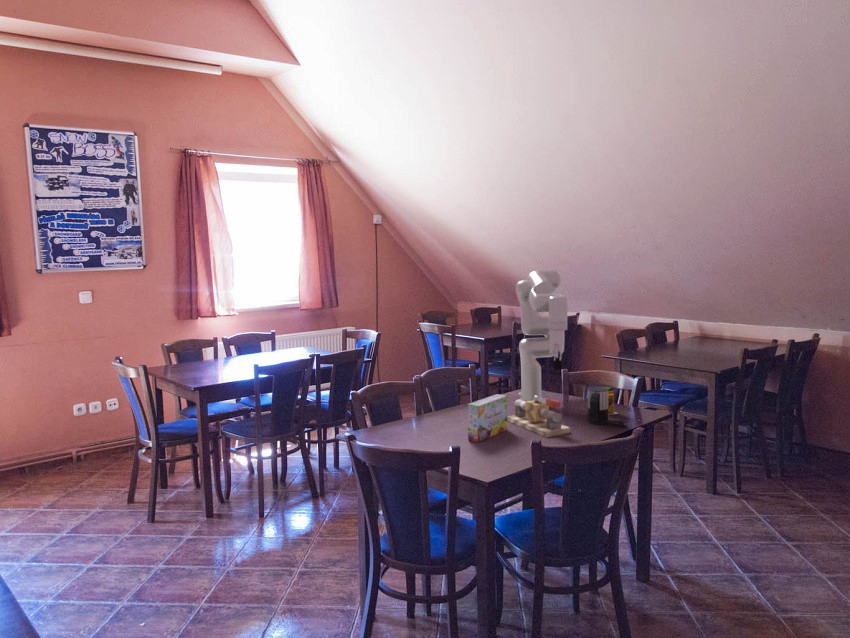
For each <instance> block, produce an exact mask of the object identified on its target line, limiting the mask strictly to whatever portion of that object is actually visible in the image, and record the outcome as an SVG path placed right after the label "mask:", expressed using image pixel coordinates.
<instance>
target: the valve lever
mask: <svg viewBox="0 0 850 638" xmlns="http://www.w3.org/2000/svg"><path fill="white" fill-rule="evenodd" d="M534 402H540V403H543V404H546V406H549V408H554V409H556V410H557V409H561V408H562V402H561V401H560V400H557V399H553V398H546V397H542V396H541V397H540V396H539V395H535V396H534Z"/></svg>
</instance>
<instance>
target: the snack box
mask: <svg viewBox="0 0 850 638" xmlns="http://www.w3.org/2000/svg"><path fill="white" fill-rule="evenodd" d="M467 404H468V405H467V441H470V440H471V441H470V442H475V443H479V442H482V441H484V440H486V439H489V438H491V436H492V437H494V436H496V435H499V434H500V433H503V432H505V430H506V431H507V430H508V421H507V416H508V395H505V394H498V393H497V394H494V395H490V396H488V397H485V398H482V399H479V400H477V401H474V402H471V403H467ZM498 433H499V434H498ZM493 435H494V436H493Z"/></svg>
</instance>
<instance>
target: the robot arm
mask: <svg viewBox="0 0 850 638" xmlns="http://www.w3.org/2000/svg"><path fill="white" fill-rule="evenodd" d="M560 285H561V275H560V274H559V272H558V271H557V270H554V269H543V270H538V269H537V270H533V271H532V272H530V273H529V274H528V275H527V279H524V280H520V281H518V282H517V283H516V286H515V293H516V297H517V300H518V303H519V307H520V322H521V323H520V328H521V332H522V334H523V335H526V336H544V337H527V338H523V339H521V340H520V341H519V343H518V344H519V345H518V350H519V351H518V352H519V357H520V376H521V378H520V379H521V380H520V382H521V383H520V384H521V385H520V386H521V387H520V388H521V391H519V392H518V396H520V398H519V400H522V401H525V402H527V401H533V400H534V396H535V395H539V396H540V397H542V366H541V364H540V363H539V361H537V359H539V358H552V357H553V371H562V370H563V360H562V359H563V357H562V356H563V354H564V352H565V334H566V333H565V331H567V330H568V298H567V296H565V295H564V294H562V293H556V292H557V290H558V289H559V288H560ZM547 312H548V314H540V313H547Z"/></svg>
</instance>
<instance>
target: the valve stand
mask: <svg viewBox="0 0 850 638" xmlns="http://www.w3.org/2000/svg"><path fill="white" fill-rule="evenodd" d="M519 399H520V398H519ZM519 399H516V400H515V401H514V407H515V408H514V409H515V411H514V412H515V414H514V415H507V422H508V421H509V422H508V423H511V424H514V425H516V426H518V427H521V428H523V429H526V430H528V431H531V432H534V433H535V434H538V435H540V436H542V437H545V438H550V437H554V436H555V437H556V436H560V435H566V434H570V433H571V427H569V426H567V425H564V424H562V419H563V416H562V414H561V413H559V412H556V411H553V410H550V406H546V404H543V403H540V402H534V400H533V401H527V402H525V401H522V400H519Z"/></svg>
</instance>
